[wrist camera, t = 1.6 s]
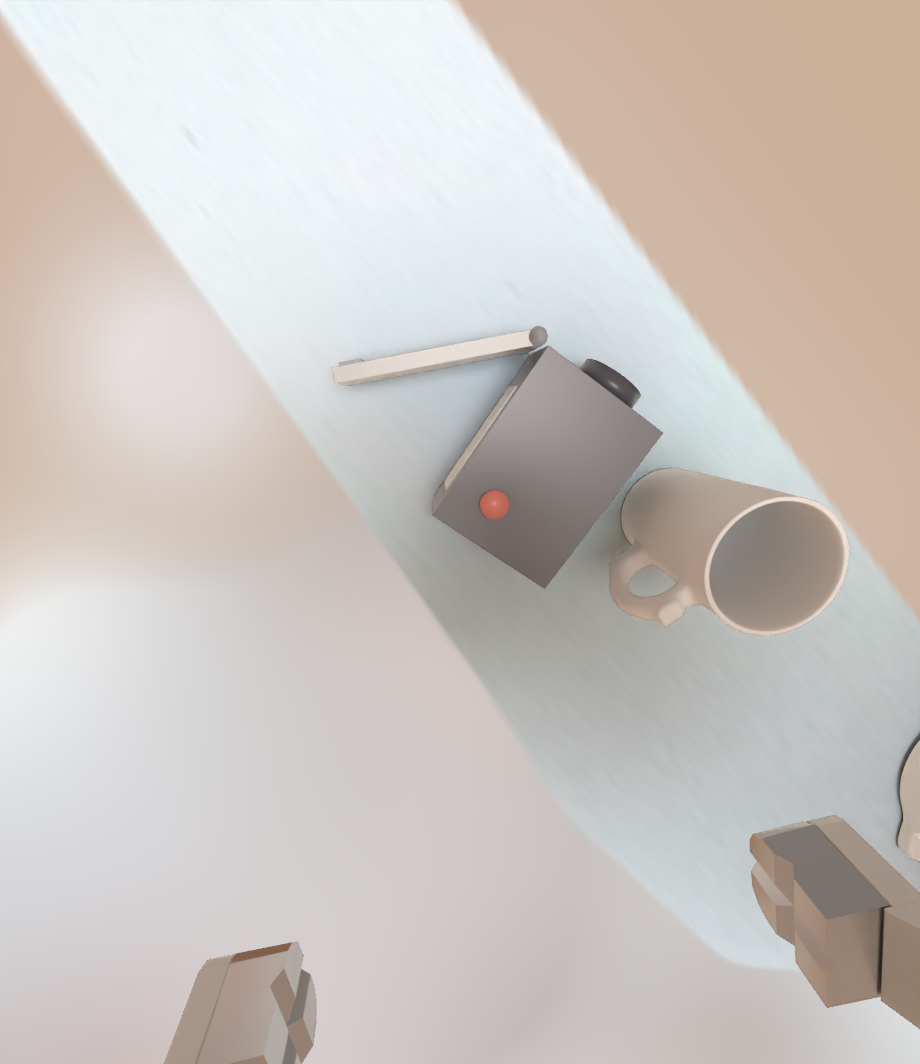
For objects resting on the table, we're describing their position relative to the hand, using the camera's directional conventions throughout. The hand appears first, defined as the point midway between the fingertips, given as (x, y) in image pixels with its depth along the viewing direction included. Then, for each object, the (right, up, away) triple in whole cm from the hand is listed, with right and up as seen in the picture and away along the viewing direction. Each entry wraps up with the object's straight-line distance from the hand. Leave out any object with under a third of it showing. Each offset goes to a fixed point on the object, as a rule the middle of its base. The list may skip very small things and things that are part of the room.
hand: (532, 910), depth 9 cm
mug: (+11, +7, +27) cm, 30 cm away
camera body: (+3, +11, +25) cm, 27 cm away
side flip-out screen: (-2, +17, +23) cm, 29 cm away
